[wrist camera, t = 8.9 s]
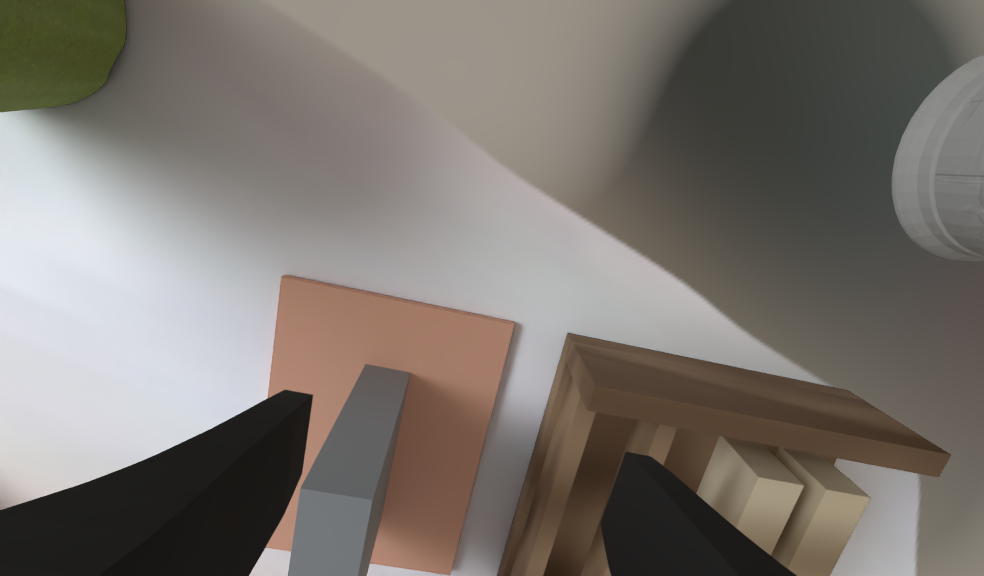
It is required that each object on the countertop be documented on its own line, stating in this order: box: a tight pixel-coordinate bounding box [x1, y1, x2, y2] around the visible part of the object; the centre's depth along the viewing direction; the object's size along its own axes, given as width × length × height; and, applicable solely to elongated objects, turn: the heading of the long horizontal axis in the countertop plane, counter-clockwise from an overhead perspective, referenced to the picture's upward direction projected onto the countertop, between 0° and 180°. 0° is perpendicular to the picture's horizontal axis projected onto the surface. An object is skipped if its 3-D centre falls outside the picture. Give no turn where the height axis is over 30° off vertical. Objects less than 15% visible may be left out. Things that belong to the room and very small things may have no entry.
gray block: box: [288, 364, 410, 576], centre depth 18 cm, size 8×2×8 cm, turn 167°
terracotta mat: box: [265, 275, 514, 575], centre depth 22 cm, size 14×10×1 cm
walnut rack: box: [497, 333, 951, 576], centre depth 21 cm, size 14×14×5 cm
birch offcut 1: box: [696, 436, 804, 555], centre depth 21 cm, size 8×2×3 cm, turn 167°
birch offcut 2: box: [771, 447, 870, 576], centre depth 21 cm, size 8×2×3 cm, turn 167°
